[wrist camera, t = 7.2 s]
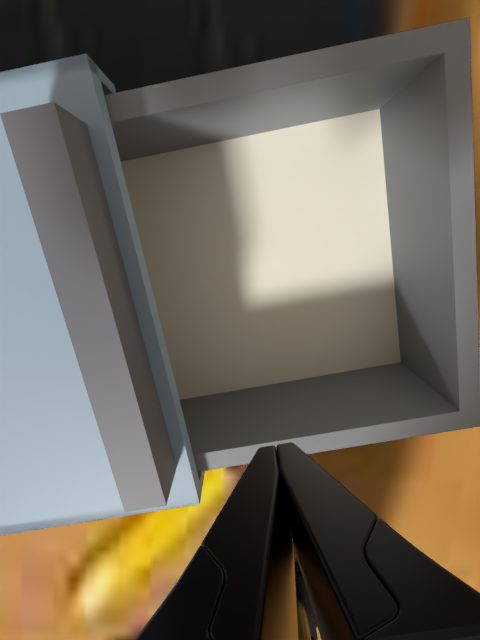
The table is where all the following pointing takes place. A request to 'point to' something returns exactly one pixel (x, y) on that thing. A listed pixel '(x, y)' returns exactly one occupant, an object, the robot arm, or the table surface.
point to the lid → (78, 318)
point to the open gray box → (313, 242)
